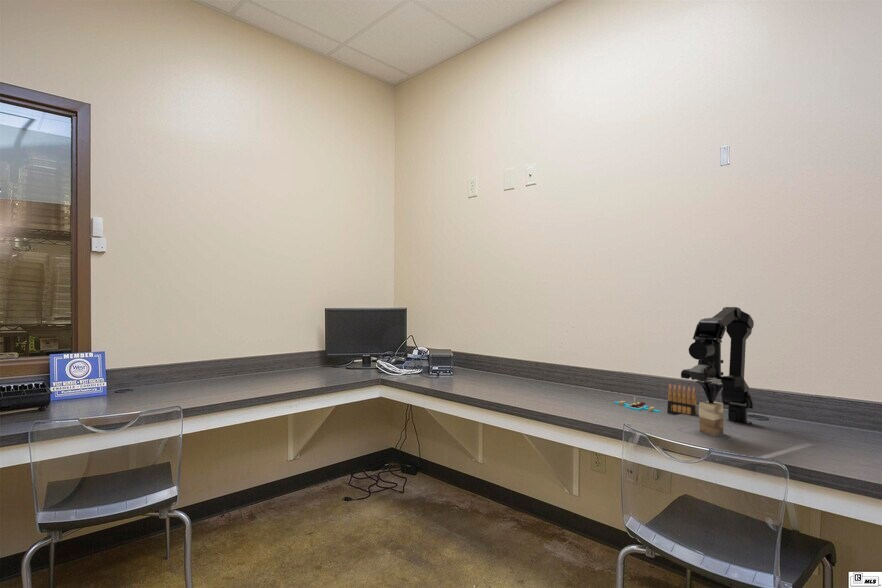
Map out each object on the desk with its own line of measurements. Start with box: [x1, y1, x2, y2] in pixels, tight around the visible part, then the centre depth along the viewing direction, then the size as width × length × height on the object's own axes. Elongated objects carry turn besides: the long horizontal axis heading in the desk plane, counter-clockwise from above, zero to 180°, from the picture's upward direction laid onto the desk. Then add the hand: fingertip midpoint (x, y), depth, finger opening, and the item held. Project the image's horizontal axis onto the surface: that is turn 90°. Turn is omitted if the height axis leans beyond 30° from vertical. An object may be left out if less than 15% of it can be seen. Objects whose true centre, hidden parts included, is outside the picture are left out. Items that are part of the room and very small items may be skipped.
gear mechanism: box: [614, 396, 662, 414], centre depth 191 cm, size 20×5×9 cm
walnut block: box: [698, 417, 724, 436], centre depth 153 cm, size 5×5×5 cm
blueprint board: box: [676, 424, 748, 443], centre depth 153 cm, size 16×16×1 cm
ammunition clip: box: [666, 383, 698, 417], centre depth 178 cm, size 11×2×12 cm, turn 40°
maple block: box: [698, 400, 724, 420], centre depth 153 cm, size 5×5×5 cm
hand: (711, 402), depth 153 cm, fingers closed, pressing on maple block
